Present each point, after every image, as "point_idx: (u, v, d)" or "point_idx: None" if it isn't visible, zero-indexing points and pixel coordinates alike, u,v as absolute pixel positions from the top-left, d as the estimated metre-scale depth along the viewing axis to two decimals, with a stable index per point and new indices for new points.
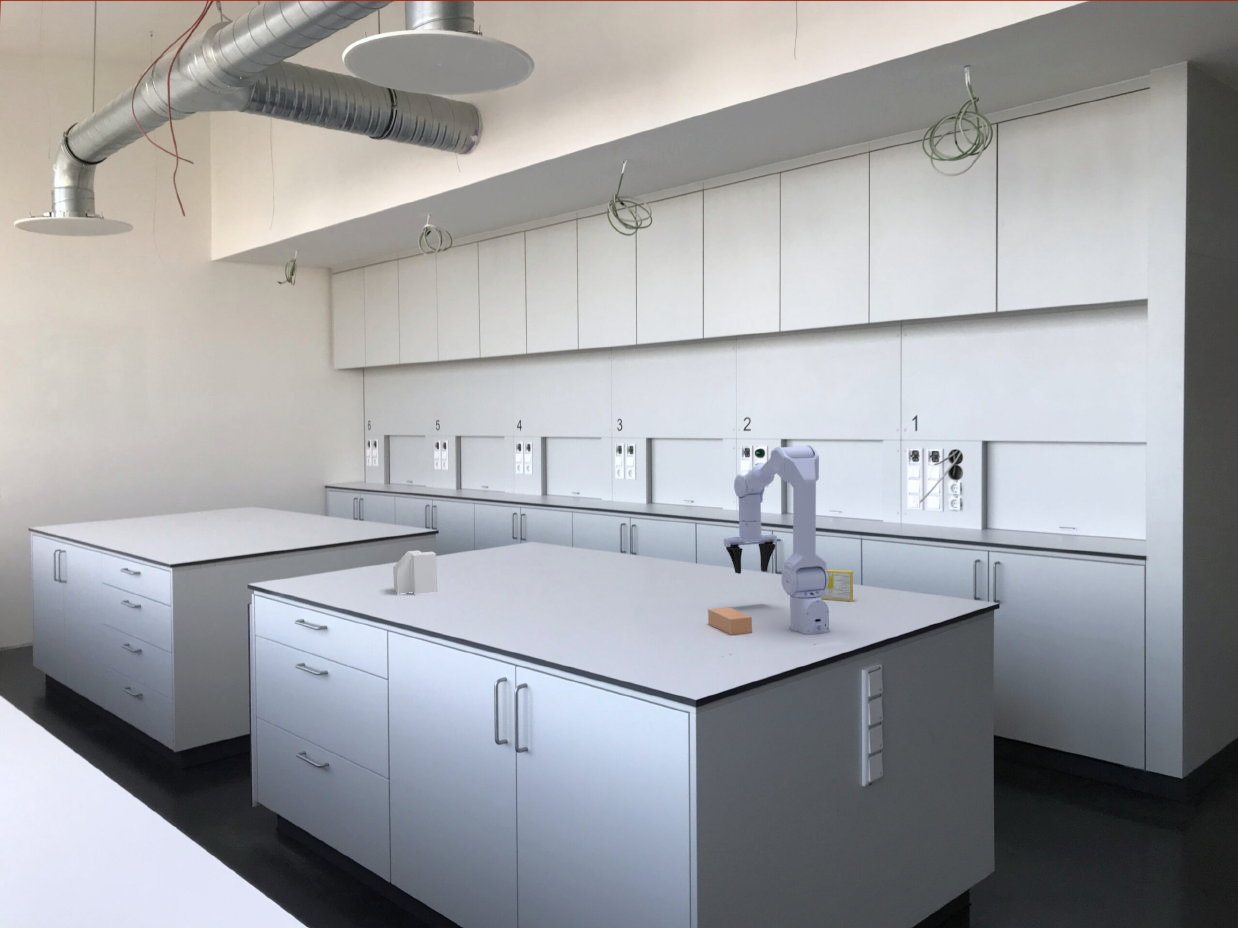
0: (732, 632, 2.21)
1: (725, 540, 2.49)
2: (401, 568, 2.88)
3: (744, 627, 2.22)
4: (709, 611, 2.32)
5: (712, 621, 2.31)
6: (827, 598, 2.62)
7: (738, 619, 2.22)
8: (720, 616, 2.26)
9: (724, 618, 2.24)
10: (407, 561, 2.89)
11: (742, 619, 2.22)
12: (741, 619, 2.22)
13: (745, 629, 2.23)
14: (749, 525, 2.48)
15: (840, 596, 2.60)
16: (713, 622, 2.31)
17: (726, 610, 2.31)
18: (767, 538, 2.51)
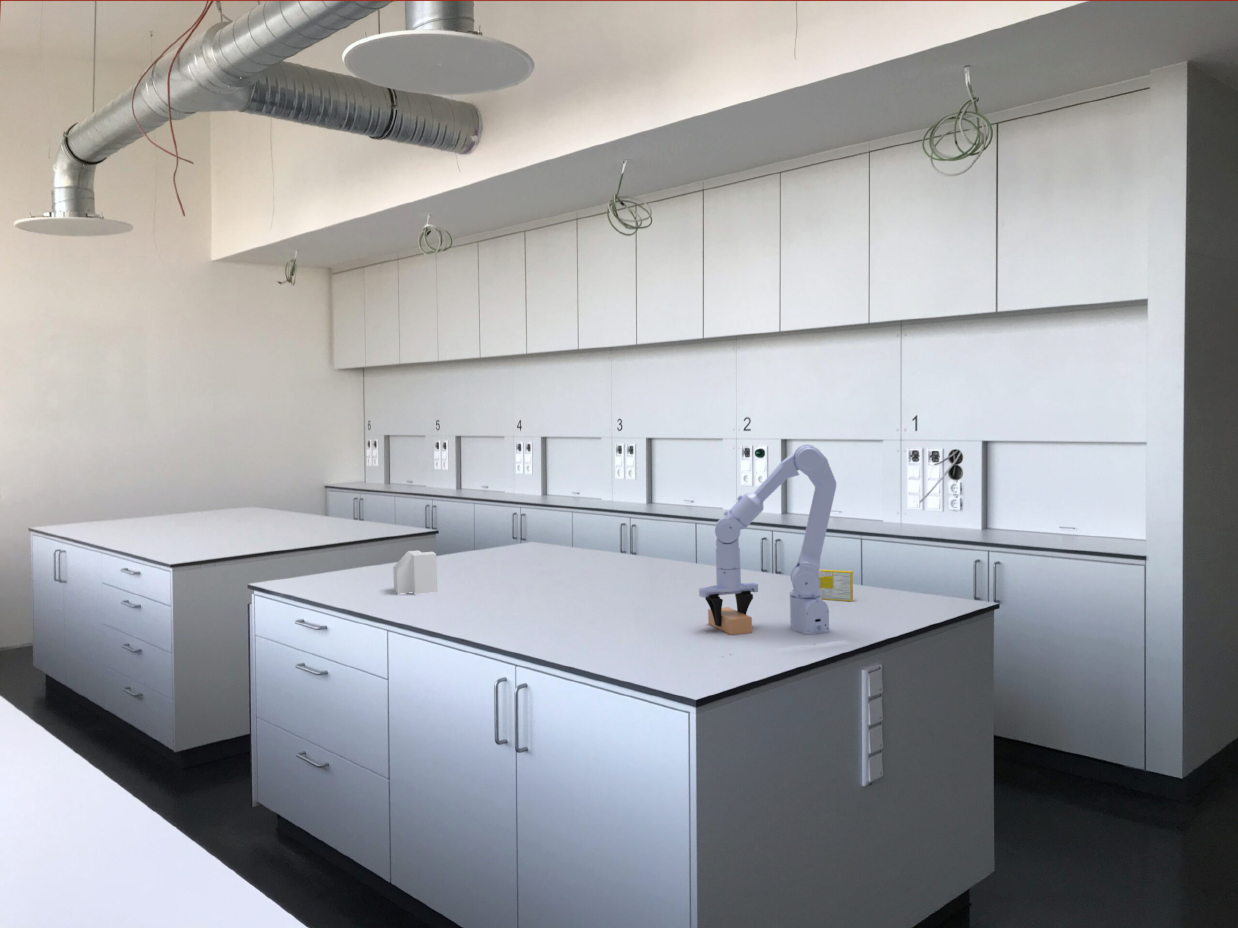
0: (732, 632, 2.21)
1: (701, 590, 2.25)
2: (401, 568, 2.88)
3: (744, 627, 2.22)
4: (709, 611, 2.32)
5: (712, 621, 2.31)
6: (827, 598, 2.62)
7: (738, 619, 2.22)
8: None
9: (724, 618, 2.24)
10: (407, 561, 2.89)
11: (742, 619, 2.22)
12: (741, 619, 2.22)
13: (745, 629, 2.23)
14: (727, 573, 2.25)
15: (840, 596, 2.60)
16: (713, 622, 2.31)
17: (726, 610, 2.31)
18: (747, 587, 2.27)
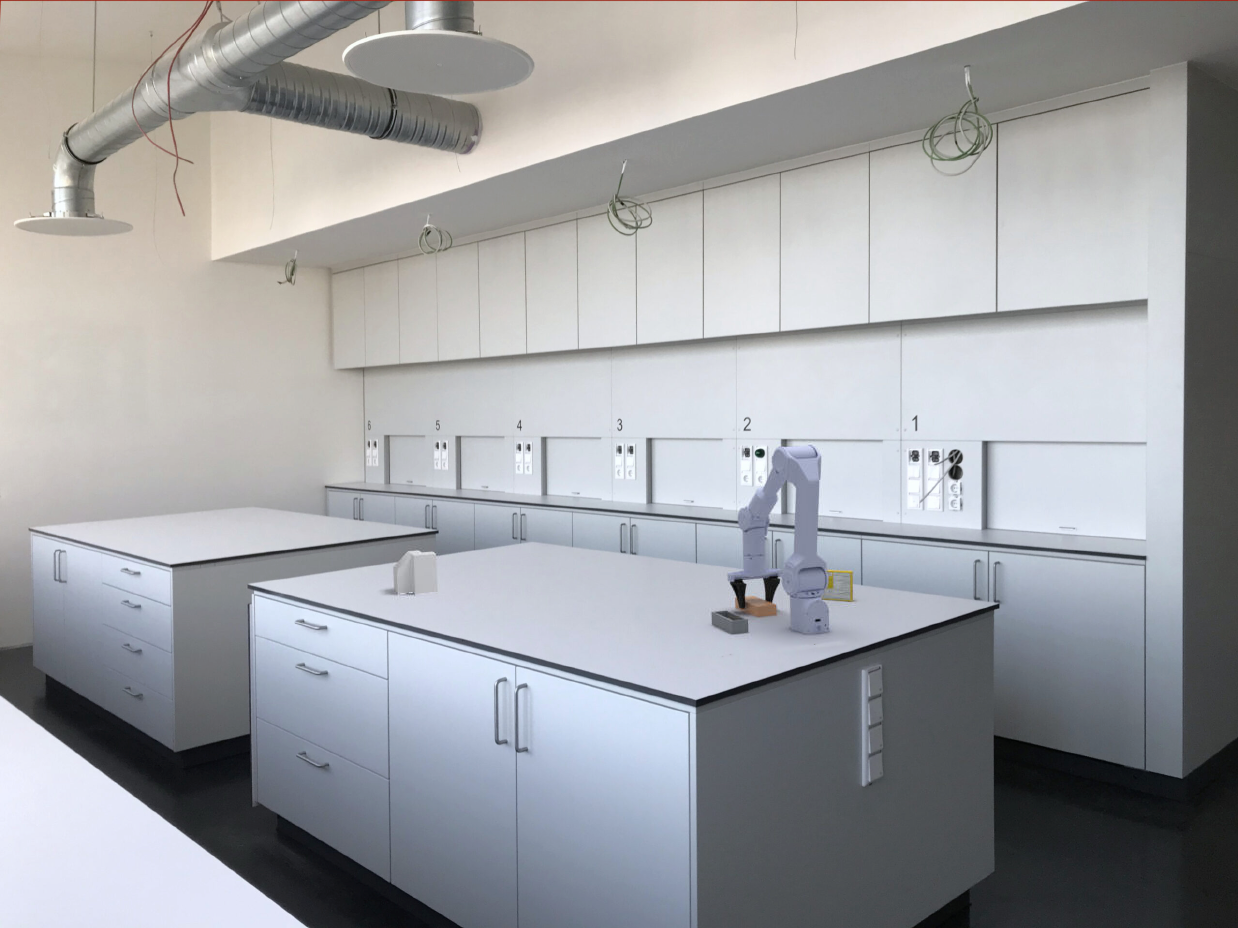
0: None
1: (729, 575, 2.43)
2: (401, 568, 2.88)
3: (769, 614, 2.40)
4: (736, 599, 2.50)
5: (739, 609, 2.49)
6: (827, 598, 2.62)
7: (764, 606, 2.40)
8: (747, 604, 2.44)
9: (751, 605, 2.42)
10: (407, 561, 2.89)
11: (768, 606, 2.40)
12: (767, 606, 2.40)
13: None
14: (753, 559, 2.42)
15: (840, 596, 2.60)
16: None
17: (752, 598, 2.49)
18: (772, 572, 2.45)
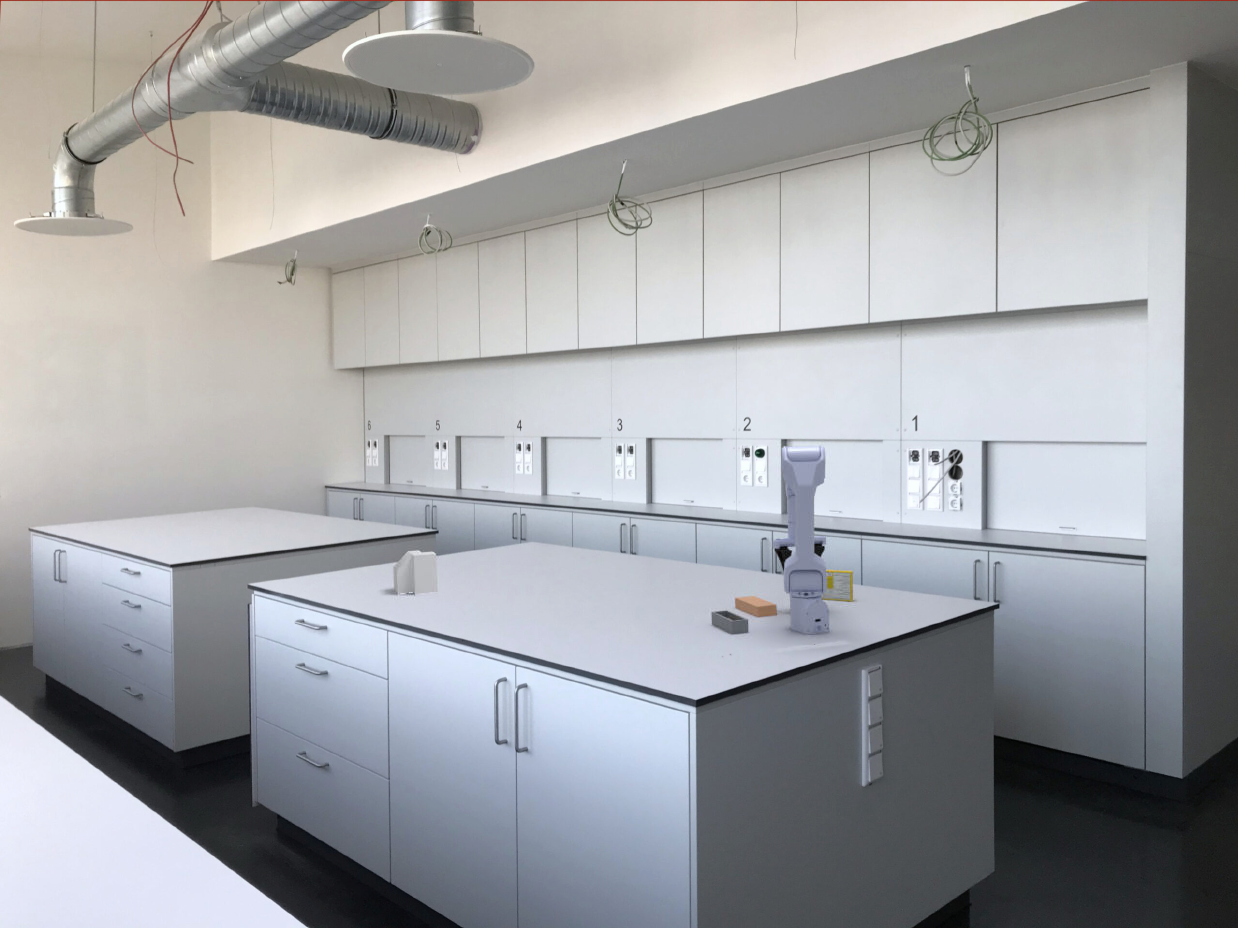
0: None
1: (774, 542, 2.44)
2: (401, 568, 2.88)
3: (769, 614, 2.40)
4: (736, 599, 2.50)
5: (739, 609, 2.49)
6: (827, 598, 2.62)
7: (764, 606, 2.40)
8: (747, 604, 2.44)
9: (751, 605, 2.42)
10: (407, 561, 2.89)
11: (768, 606, 2.40)
12: (767, 606, 2.40)
13: None
14: None
15: (840, 596, 2.60)
16: None
17: (752, 598, 2.49)
18: (816, 540, 2.47)
